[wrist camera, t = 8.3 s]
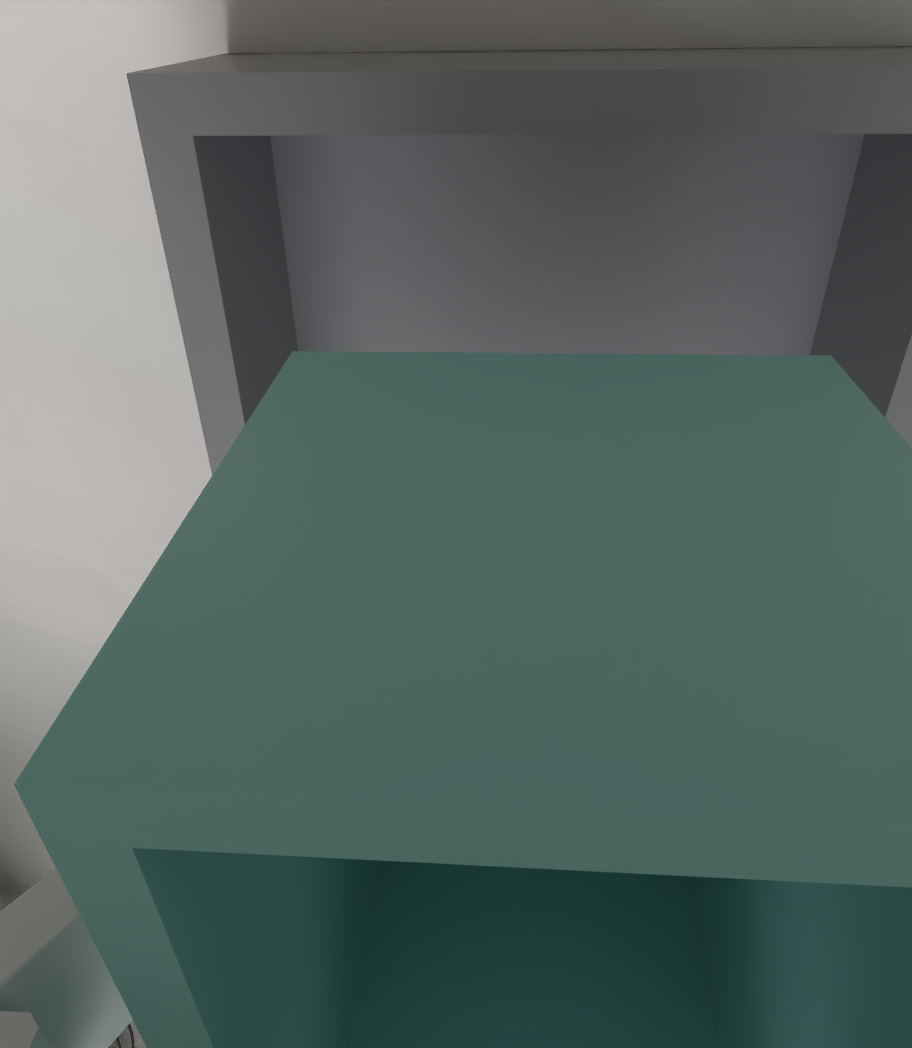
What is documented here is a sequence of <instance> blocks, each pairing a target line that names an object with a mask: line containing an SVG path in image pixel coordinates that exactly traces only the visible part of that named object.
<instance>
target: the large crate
mask: <svg viewBox="0 0 912 1048" xmlns="http://www.w3.org/2000/svg"><path fill="white" fill-rule="evenodd" d="M127 78H128V83H129V88H130V92H131V97H132V102H133V106H134V111H135V116H136V120H137V125H138V130H139V134H140V139H141V144H142V148H143V153H144V158H145V162H146V167H147V172H148V176H149V181H150V186H151V190H152V195H153V200H154V204H155V209H156V214H157V218H158V223H159V228H160V233H161V237H162V242H163V247H164V251H165V256H166V261H167V265H168V270H169V275H170V279H171V284H172V289H173V293H174V298H175V303H176V307H177V312H178V317H179V321H180V326H181V331H182V335H183V340H184V345H185V349H186V354H187V359H188V363H189V368H190V373H191V377H192V382H193V387H194V391H195V396H196V401H197V405H198V410H199V415H200V419H201V424H202V429H203V433H204V438H205V443H206V447H207V452H208V457H209V462H210V466H211V471H212V476H213V474H214V473H215V471H216V469H217V468H218V466H219V465H220V463H221V462H222V460H223V459H224V457H225V455H226V454H227V452H228V451H229V449H230V448H231V446H232V445H233V443H234V441H235V440H236V438H237V437H238V435H239V434H240V432H241V431H242V429H243V427H244V426H245V424H246V423H247V421H248V420H249V418H250V416H251V415H252V413H253V412H254V410H255V409H256V407H257V406H258V404H259V402H260V401H261V399H262V398H263V396H264V395H265V393H266V392H267V390H268V388H269V387H270V385H271V384H272V382H273V381H274V379H275V378H276V376H277V374H278V373H279V371H280V370H281V368H282V367H283V365H284V364H285V362H286V360H287V359H288V357H289V356H290V354H291V353H292V351H342V352H465V353H587V354H710V355H831V356H832V357H833V358H834V359H835V361H836V362H837V363H838V364H839V365H840V366H841V368H842V369H843V370H844V371H845V372H846V373H847V374H848V376H849V377H850V378H851V379H852V380H853V381H854V382H855V384H856V385H857V386H858V387H859V388H860V389H861V391H862V392H863V393H864V394H865V395H866V396H867V397H868V399H869V400H870V401H871V402H872V403H873V404H874V406H875V407H876V408H877V409H878V410H879V411H880V412H881V414H882V415H883V416H884V417H885V418H886V419H887V420H888V422H889V423H890V424H891V425H892V426H893V427H894V429H895V430H896V431H897V432H898V433H899V434H900V435H901V437H902V438H903V439H904V440H905V441H906V442H907V443H908V445H909V446H910V447H911V448H912V46H887V47H793V48H699V49H604V50H510V51H416V52H321V53H227V54H222V55H217V56H212V57H207V58H202V59H197V60H192V61H187V62H182V63H177V64H172V65H167V66H162V67H157V68H152V69H147V70H142V71H137V72H132V73H127Z"/></svg>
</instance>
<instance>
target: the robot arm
mask: <svg viewBox="0 0 912 1048" xmlns="http://www.w3.org/2000/svg"><path fill="white" fill-rule="evenodd" d="M132 1020H133V1019H132V1017H131V1015H130V1013H129V1011H128V1009H127V1007H126V1005H125V1003H124V1001H123V999H122V997H121V995H120V993H119V991H118V989H117V987H116V985H115V983H114V981H113V979H112V977H111V975H110V973H109V971H108V969H107V967H106V965H105V963H104V961H103V959H102V957H101V955H100V953H99V951H98V949H97V947H96V946H95V944H94V942H93V940H92V938H91V936H90V934H89V932H88V930H87V928H86V926H85V924H84V922H83V920H82V918H81V916H80V914H79V912H78V910H77V908H76V906H75V904H74V902H73V900H72V898H71V896H70V894H69V892H68V890H67V888H66V886H65V884H64V882H63V880H62V878H61V876H60V874H59V872H58V870H57V868H55V869H54V870H53V871H51V872H50V873H49V874H48V875H46V876H45V877H44V878H42V879H41V880H40V881H39V882H37V883H36V884H35V885H33V886H32V887H31V888H29V889H28V890H27V891H26V892H24V893H23V894H22V895H20V896H19V897H18V898H17V899H15V900H14V901H13V902H11V903H10V904H9V905H8V906H6V907H5V908H4V909H2V910H1V911H0V1048H108V1047H109V1046H110V1045H111V1044H112V1043H113V1042H114V1041H115V1040H116V1038H117V1037H118V1036H119V1035H120V1034H121V1033H122V1032H123V1030H124V1029H125V1028H126V1027H127V1026H128V1025H129V1024H130V1023H131V1021H132Z"/></svg>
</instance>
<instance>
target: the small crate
mask: <svg viewBox="0 0 912 1048" xmlns="http://www.w3.org/2000/svg"><path fill="white" fill-rule="evenodd" d="M14 785H15V787H16V789H17V791H18V793H19V795H20V797H21V799H22V801H23V803H24V805H25V807H26V809H27V811H28V813H29V815H30V817H31V819H32V821H33V823H34V825H35V827H36V829H37V831H38V833H39V835H40V837H41V839H42V841H43V843H44V845H45V847H46V849H47V851H48V853H49V854H50V856H51V858H52V860H53V862H54V864H55V866H56V868H57V870H58V872H59V874H60V876H61V878H62V880H63V882H64V884H65V886H66V888H67V890H68V892H69V894H70V896H71V898H72V900H73V902H74V904H75V906H76V908H77V910H78V912H79V914H80V916H81V918H82V920H83V922H84V924H85V926H86V928H87V930H88V932H89V934H90V936H91V938H92V940H93V942H94V944H95V946H96V947H97V949H98V951H99V953H100V955H101V957H102V959H103V961H104V963H105V965H106V967H107V969H108V971H109V973H110V975H111V977H112V979H113V981H114V983H115V985H116V987H117V989H118V991H119V993H120V995H121V997H122V999H123V1001H124V1003H125V1005H126V1007H127V1009H128V1011H129V1013H130V1015H131V1017H132V1019H133V1021H134V1023H135V1025H136V1027H137V1029H138V1031H139V1033H140V1035H141V1037H142V1039H143V1040H144V1042H145V1044H146V1046H147V1048H912V448H911V447H910V446H909V445H908V443H907V442H906V441H905V440H904V439H903V438H902V437H901V435H900V434H899V433H898V432H897V431H896V430H895V429H894V427H893V426H892V425H891V424H890V423H889V422H888V420H887V419H886V418H885V417H884V416H883V415H882V414H881V412H880V411H879V410H878V409H877V408H876V407H875V406H874V404H873V403H872V402H871V401H870V400H869V399H868V397H867V396H866V395H865V394H864V393H863V392H862V391H861V389H860V388H859V387H858V386H857V385H856V384H855V382H854V381H853V380H852V379H851V378H850V377H849V376H848V374H847V373H846V372H845V371H844V370H843V369H842V368H841V366H840V365H839V364H838V363H837V362H836V361H835V359H834V358H833V357H832V356H831V355H710V354H587V353H465V352H342V351H292V353H291V354H290V356H289V357H288V359H287V360H286V362H285V364H284V365H283V367H282V368H281V370H280V371H279V373H278V374H277V376H276V378H275V379H274V381H273V382H272V384H271V385H270V387H269V388H268V390H267V392H266V393H265V395H264V396H263V398H262V399H261V401H260V402H259V404H258V406H257V407H256V409H255V410H254V412H253V413H252V415H251V416H250V418H249V420H248V421H247V423H246V424H245V426H244V427H243V429H242V431H241V432H240V434H239V435H238V437H237V438H236V440H235V441H234V443H233V445H232V446H231V448H230V449H229V451H228V452H227V454H226V455H225V457H224V459H223V460H222V462H221V463H220V465H219V466H218V468H217V469H216V471H215V473H214V474H213V476H212V477H211V479H210V480H209V482H208V483H207V485H206V487H205V488H204V490H203V491H202V493H201V494H200V496H199V497H198V499H197V501H196V502H195V504H194V505H193V507H192V508H191V510H190V511H189V513H188V515H187V516H186V518H185V519H184V521H183V522H182V524H181V525H180V527H179V529H178V530H177V532H176V533H175V535H174V536H173V538H172V539H171V541H170V543H169V544H168V546H167V547H166V549H165V550H164V552H163V553H162V555H161V557H160V558H159V560H158V561H157V563H156V564H155V566H154V567H153V569H152V571H151V572H150V574H149V575H148V577H147V578H146V580H145V581H144V583H143V585H142V586H141V588H140V589H139V591H138V592H137V594H136V595H135V597H134V599H133V600H132V602H131V603H130V605H129V606H128V608H127V609H126V611H125V613H124V614H123V616H122V617H121V619H120V620H119V622H118V623H117V625H116V627H115V628H114V630H113V631H112V633H111V634H110V636H109V637H108V639H107V641H106V642H105V644H104V645H103V647H102V648H101V650H100V651H99V653H98V655H97V656H96V658H95V659H94V661H93V662H92V664H91V665H90V667H89V669H88V670H87V672H86V673H85V675H84V676H83V678H82V679H81V681H80V683H79V684H78V686H77V687H76V689H75V690H74V692H73V693H72V695H71V697H70V698H69V700H68V701H67V703H66V704H65V706H64V707H63V709H62V711H61V712H60V714H59V715H58V717H57V718H56V720H55V722H54V723H53V725H52V726H51V728H50V729H49V731H48V732H47V734H46V736H45V737H44V739H43V740H42V742H41V743H40V745H39V746H38V748H37V750H36V751H35V753H34V754H33V756H32V757H31V759H30V760H29V762H28V764H27V765H26V767H25V768H24V770H23V771H22V773H21V774H20V776H19V778H18V779H17V781H16V782H15V784H14Z"/></svg>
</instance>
